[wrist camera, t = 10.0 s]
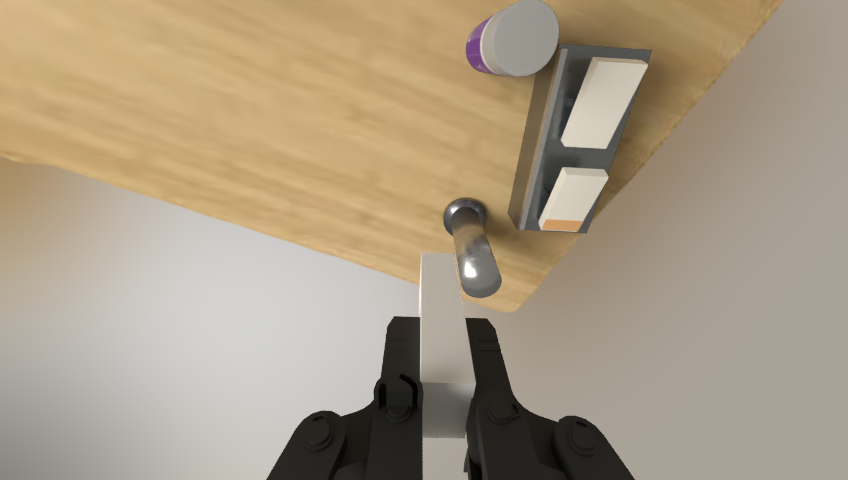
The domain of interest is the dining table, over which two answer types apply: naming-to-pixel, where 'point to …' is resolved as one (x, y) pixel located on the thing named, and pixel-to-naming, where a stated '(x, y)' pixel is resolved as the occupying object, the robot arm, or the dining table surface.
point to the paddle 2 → (572, 198)
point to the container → (514, 40)
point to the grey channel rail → (560, 132)
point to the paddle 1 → (602, 101)
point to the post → (472, 247)
